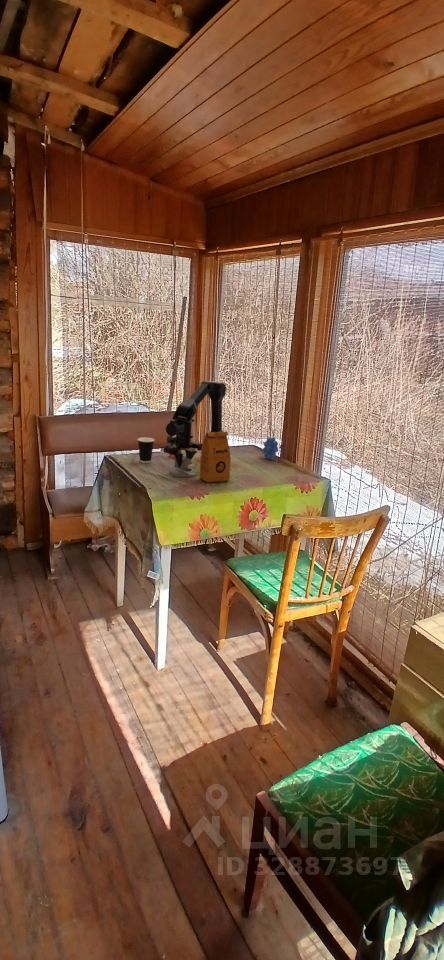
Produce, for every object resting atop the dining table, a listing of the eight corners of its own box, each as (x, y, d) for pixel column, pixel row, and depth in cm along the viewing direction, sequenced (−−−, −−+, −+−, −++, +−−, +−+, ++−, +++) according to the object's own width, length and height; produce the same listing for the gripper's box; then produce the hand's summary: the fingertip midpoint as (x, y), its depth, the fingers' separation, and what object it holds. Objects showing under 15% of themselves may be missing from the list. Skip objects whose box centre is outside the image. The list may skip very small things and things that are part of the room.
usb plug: (179, 465, 255) (180, 454, 254) (196, 472, 247) (197, 461, 245) (172, 466, 253) (173, 455, 251) (189, 473, 244) (190, 462, 243)
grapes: (282, 461, 283) (285, 438, 280) (272, 462, 280) (274, 439, 276) (269, 455, 293) (271, 433, 289) (259, 456, 289) (261, 434, 286)
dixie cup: (155, 463, 264) (156, 441, 260) (139, 464, 260) (140, 441, 257) (151, 459, 270) (151, 437, 267) (135, 459, 267) (135, 437, 264)
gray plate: (185, 468, 259) (185, 466, 259) (201, 475, 251) (201, 473, 251) (164, 471, 252) (164, 470, 251) (180, 479, 243) (180, 477, 243)
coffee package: (232, 482, 243) (235, 433, 237) (206, 484, 238) (209, 434, 231) (222, 476, 252) (225, 428, 245) (197, 478, 246) (200, 429, 240)
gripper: (189, 427, 257) (188, 459, 262) (156, 430, 245) (155, 464, 250) (205, 432, 250) (203, 465, 254) (172, 436, 237) (170, 471, 242)
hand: (183, 466), depth 250 cm, fingers closed on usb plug, 4 cm apart
